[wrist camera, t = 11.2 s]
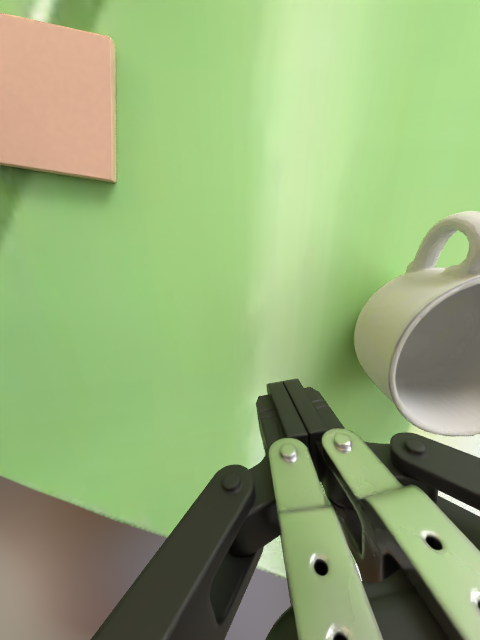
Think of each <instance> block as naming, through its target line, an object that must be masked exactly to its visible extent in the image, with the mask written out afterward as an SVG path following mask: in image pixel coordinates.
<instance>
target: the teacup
mask: <svg viewBox="0 0 480 640" xmlns="http://www.w3.org/2000/svg"><path fill="white" fill-rule="evenodd" d="M457 230H459V231H461V232H463V233H464V234H465V235H466V236H467V239H468V241H469V251H468V254H467V257H466V259H465V260H464V261H463V262H462V263H461V264H459V265H454V266H450V267H448V268H436V263H437V260H438V258H439V255H440V253H441V251H442V249H443V247H444V245H445V244H446V242H447V241H448V239H449V238H450V237H451V236H452V235H453V234H454V233H455V232H456V231H457ZM354 346H355V351H356V355H357V358H358V360H359V362H360V364H361V366H362V368H363V369H364V371H365V372H366V374H367V375H368V376H369V377H370V379H371V380H372V381H373V382H374V383H375V384H376V385H377V387H378V388H379V389H380V390H381V391H382V392H383V393H384V394H385V395H386V396H387V397H388V398H389V399H390V400H391V401H392V402H393V403H394V404H395V406H396V407H397V409H398V410H399V412H400V413H401V414H402V415H403V416H404V417H405V418H406V419H407V420H408V421H409V422H410V423H412V424H413V425H414V426H416V427H418V428H420V429H422V430H424V431H427V432H430V433H434V434H439V435H445V436H474V435H475V434H480V212H474V211H467V212H461V213H457V214H454V215H451V216H448V217H446V218H444V219H442V220H441V221H439V222H438V223H436V224H435V225H434V226H433V227H432V228H431V229H430V230H429V232H428V233H427V234H426V236H425V237H424V239H423V241H422V243H421V245H420V247H419V249H418V251H417V254H416V256H415V259H414V261H412V262H411V263H410V264H409V265H408V267H407V270H406V273H405V274H403V275H400V276H398V277H396V278H394V279H392V280H391V281H389V282H388V283H386V284H385V285H383V286H382V287H381V288H380V289H378V290H377V291H376V292H375V293H374V294H373V295H372V296H371V297H370V299H369V300H368V301H367V302H366V304H365V305H364V307H363V309H362V310H361V312H360V314H359V317H358V319H357V322H356V326H355V332H354Z"/></svg>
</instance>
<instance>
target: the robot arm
mask: <svg viewBox="0 0 480 640" xmlns="http://www.w3.org/2000/svg"><path fill="white" fill-rule="evenodd" d="M267 392H268V395H264V396H259V397H258V400H257V403H256V407H257V414H258V420H259V427H260V433H261V437H262V441H263V445H264V449H265V453H266V455H265V457H264V459H263V460H262V461H261V462H260V463H259V464H258V465H256V466H255V467H253V468H251V469H249V470H248V469H247V468H245V467H244V466H241V465H229V466H226V467H224V468H222V469H221V470H219V471H218V472H217V473H216V474H215V475H214V477H213V478H212V479H211V481H210V482H209V483H208V485H207V486H206V487H205V489H204V490H203V491H202V493H201V494H200V495H199V497H198V498H197V499H196V501H195V502H194V503H193V505H192V506H191V507H190V509H189V510H188V511H187V513H186V514H185V515H184V517H183V518H182V519H181V521H180V522H179V523H178V525H177V526H176V527H175V529H174V530H173V531H172V533H171V534H170V535H169V536H168V538H167V539H166V540H165V542H164V543H163V544H162V546H161V547H160V548H159V550H158V551H157V552H156V554H155V555H154V556H153V558H152V559H151V560H150V562H149V563H148V564H147V566H146V567H145V568H144V570H143V571H142V572H141V574H140V575H139V576H138V578H137V579H136V580H135V582H134V583H133V584H132V586H131V587H130V588H129V590H128V591H127V592H126V594H125V595H124V596H123V598H122V599H121V600H120V602H119V603H118V604H117V606H116V607H115V608H114V609H113V611H112V612H111V613H110V615H109V616H108V617H107V619H106V620H105V621H104V623H103V624H102V625H101V627H100V628H99V630H98V631H97V632H96V633H95V635H94V636H93V637H92V639H91V640H224V639H225V637H226V634H227V632H228V630H229V628H230V625H231V623H232V621H233V619H234V616H235V614H236V612H237V609H238V607H239V605H240V603H241V600H242V598H243V596H244V593H245V591H246V589H247V587H248V584H249V582H250V580H251V577H252V575H253V573H254V570H255V568H256V566H257V564H258V561H259V559H260V557H261V554H262V552H263V547H264V546H265V545H266V544H268V543H269V542H271V541H272V540H273V539H275V538H276V537H278V536H279V535H280V537H281V544H282V550H283V557H284V563H285V569H286V576H287V582H288V589H289V596H290V603H291V606H290V607H289V608H288V609H287V610H286V611H285V612H284V613H283V614H282V615H281V617H280V618H279V619H278V620H277V621H276V623H275V624H274V625H273V627H272V629H271V631H270V632H269V634H268V636H267V638H266V640H480V517H479V516H477V515H475V514H473V513H471V512H469V511H467V510H465V509H463V508H461V507H459V506H457V505H455V504H454V503H452V502H450V501H448V500H446V499H444V498H442V497H440V496H438V490H439V491H441V492H443V493H445V494H447V495H449V496H451V497H453V498H455V499H457V500H459V501H461V502H463V503H466V504H468V505H470V506H472V507H474V508H476V509H478V510H480V458H478V457H475V456H473V455H470V454H468V453H465V452H462V451H460V450H457V449H454V448H452V447H449V446H447V445H444V444H441V443H439V442H436V441H433V440H431V439H428V438H426V437H423V436H420V435H417V434H413V433H398V434H395V435H394V436H393V437H392V438H391V440H390V444H378V443H369V442H364V441H363V440H362V439H361V438H360V437H359V436H358V435H357V434H356V433H354V432H352V431H350V430H347V429H345V428H344V427H343V425H342V424H341V422H340V421H339V419H338V418H337V417H336V415H335V414H334V412H333V411H332V410H331V408H330V407H329V406H328V404H327V403H326V401H324V398H323V397H322V396H321V394H320V393H319V392H318V391H316V390H315V389H313V388H312V387H307V388H303V386H302V385H301V383H300V381H299V380H298V379H292V380H286V381H281V382H275V383H270V384H267ZM320 482H321V483H322V485H323V487H324V489H325V496H324V493H323V490H322V487H321V485H320ZM349 549H350V550H349ZM350 551H351V552H350ZM351 553H352V555H353V557H354V559H355V561H356V563H357V565H358V568H359V571H360V574H361V578H362V581H361V579H360V576H359V574H358V571H357V568H356V566H355V563H354V560H353V558H352V555H351Z"/></svg>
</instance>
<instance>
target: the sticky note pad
mask: <svg viewBox="0 0 480 640" xmlns="http://www.w3.org/2000/svg"><path fill="white" fill-rule="evenodd" d="M0 165H3V166H10V167H16V168H22V169H29V170H35V171H42V172H48V173H54V174H61V175H67V176H74V177H80V178H86V179H93V180H99V181H106V182H112V183H116V47H115V45H114V43H113V41H112V39H111V37H109V36H104V35H100V34H95V33H91V32H86V31H81V30H77V29H72V28H68V27H63V26H59V25H54V24H50V23H45V22H40V21H36V20H31V19H27V18H22V17H18V16H13V15H8V14H4V13H0Z"/></svg>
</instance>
